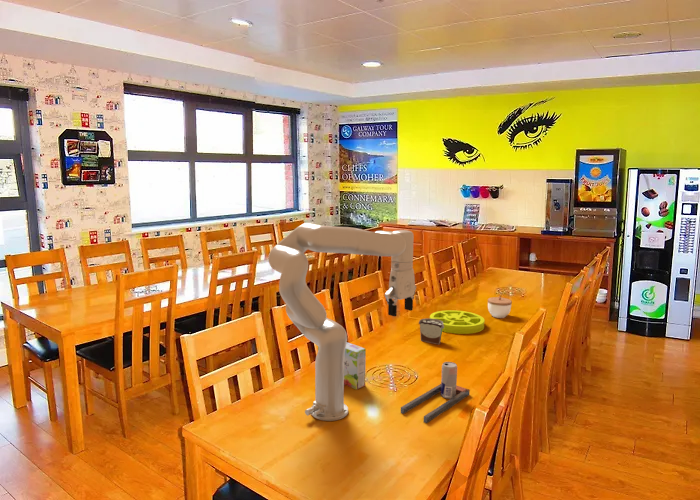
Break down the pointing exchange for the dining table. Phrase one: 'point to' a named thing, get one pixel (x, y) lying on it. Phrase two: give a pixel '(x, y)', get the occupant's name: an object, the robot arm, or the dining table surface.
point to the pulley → (459, 321)
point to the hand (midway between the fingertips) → (400, 312)
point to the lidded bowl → (499, 307)
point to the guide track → (460, 395)
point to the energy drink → (448, 380)
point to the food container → (431, 330)
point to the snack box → (354, 366)
